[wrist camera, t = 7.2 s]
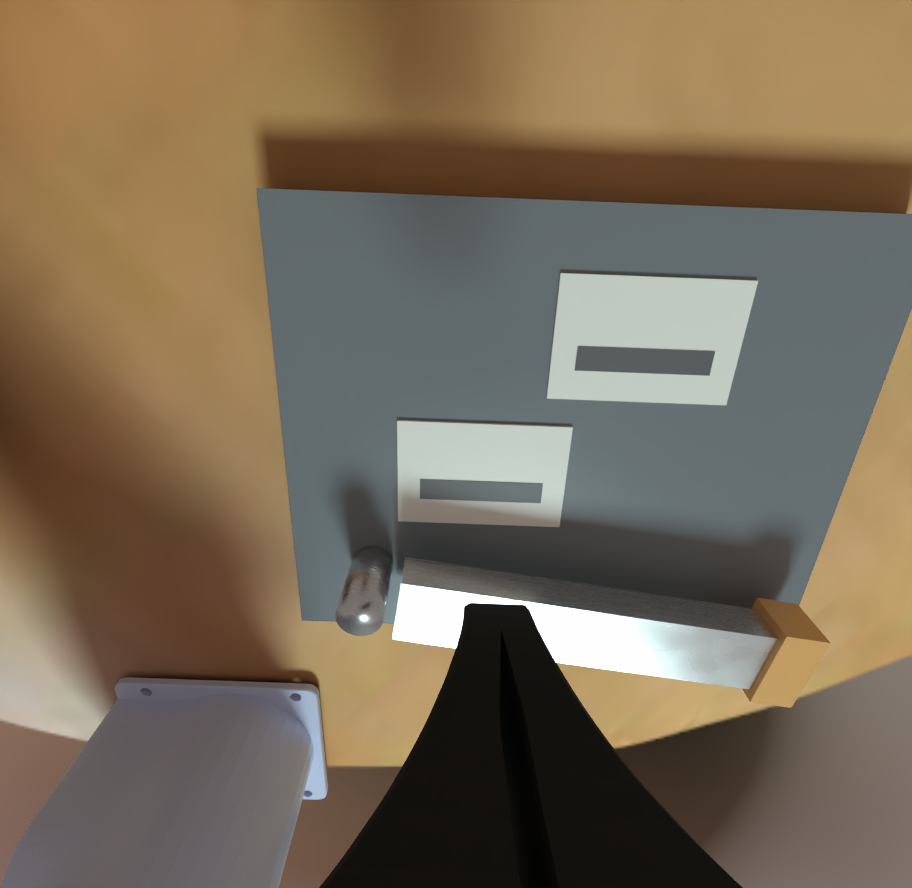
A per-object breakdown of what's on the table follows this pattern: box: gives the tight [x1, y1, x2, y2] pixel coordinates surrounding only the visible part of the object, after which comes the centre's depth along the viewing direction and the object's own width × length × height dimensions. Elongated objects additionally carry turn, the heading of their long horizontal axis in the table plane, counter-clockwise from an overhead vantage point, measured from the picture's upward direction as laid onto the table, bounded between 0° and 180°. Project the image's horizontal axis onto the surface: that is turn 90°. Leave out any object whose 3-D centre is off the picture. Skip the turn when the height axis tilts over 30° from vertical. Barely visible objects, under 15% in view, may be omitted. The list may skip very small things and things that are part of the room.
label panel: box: [257, 188, 912, 636], centre depth 18 cm, size 20×16×4 cm
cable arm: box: [392, 557, 830, 708], centre depth 19 cm, size 15×3×2 cm, turn 80°
